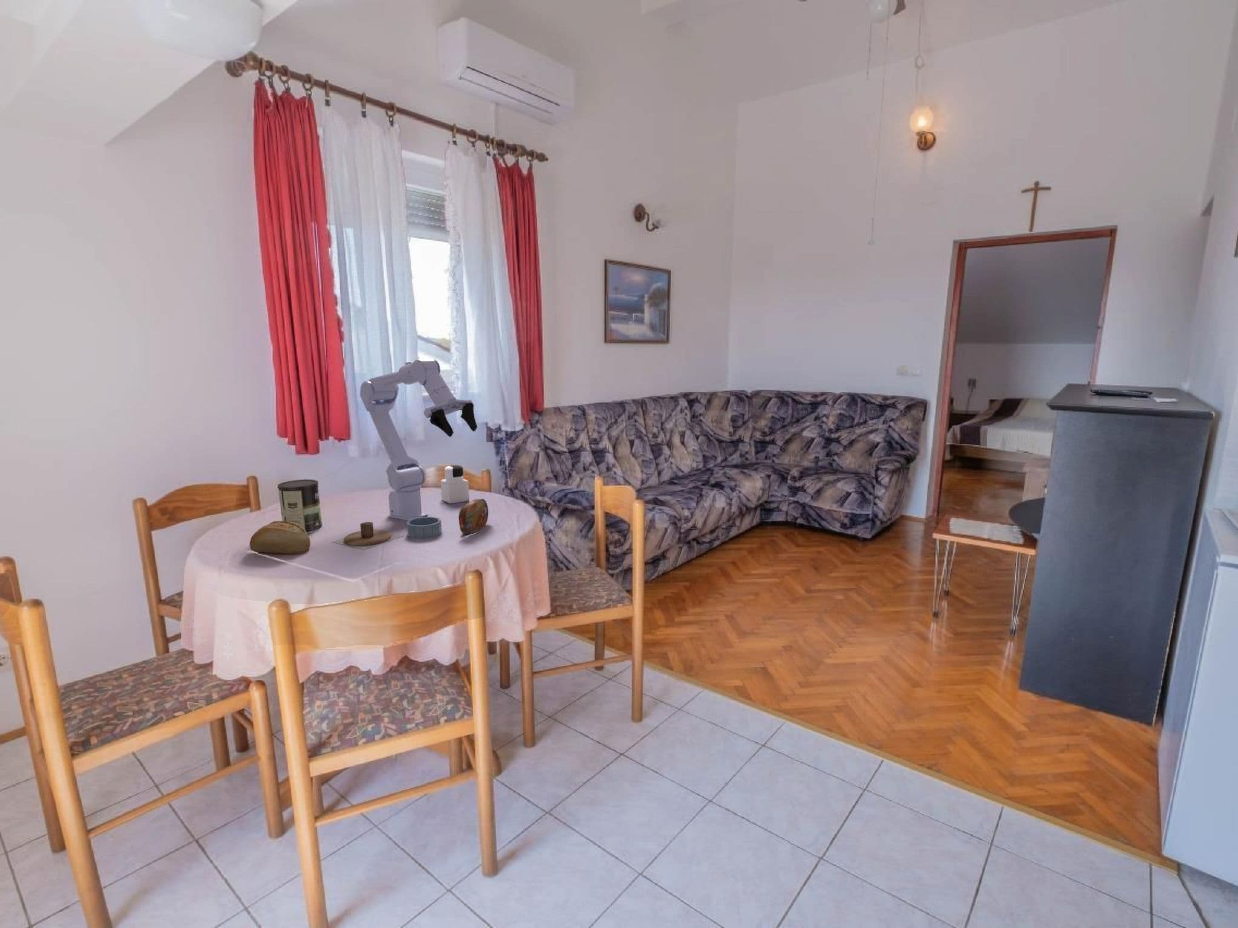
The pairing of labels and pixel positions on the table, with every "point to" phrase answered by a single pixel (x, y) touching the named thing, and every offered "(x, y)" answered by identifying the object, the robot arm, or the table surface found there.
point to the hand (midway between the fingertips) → (463, 431)
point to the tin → (473, 516)
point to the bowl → (424, 527)
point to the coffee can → (301, 503)
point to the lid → (367, 536)
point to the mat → (341, 541)
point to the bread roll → (281, 538)
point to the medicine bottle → (454, 485)
